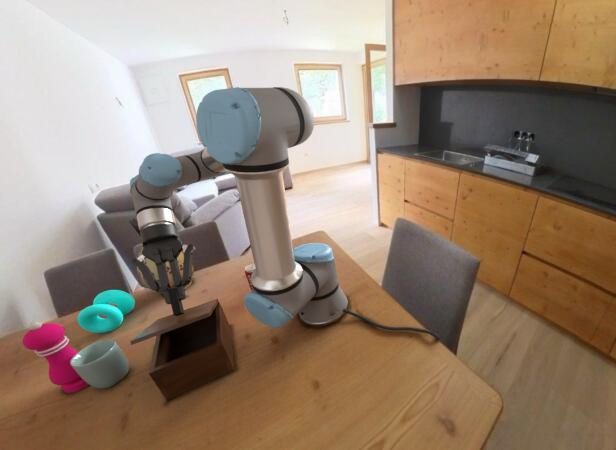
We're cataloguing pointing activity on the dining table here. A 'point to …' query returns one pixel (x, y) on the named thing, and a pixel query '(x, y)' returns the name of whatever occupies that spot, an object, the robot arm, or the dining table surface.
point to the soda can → (250, 273)
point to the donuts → (106, 311)
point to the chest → (192, 355)
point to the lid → (176, 321)
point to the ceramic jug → (153, 267)
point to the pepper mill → (54, 354)
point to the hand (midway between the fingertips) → (179, 314)
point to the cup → (101, 364)
